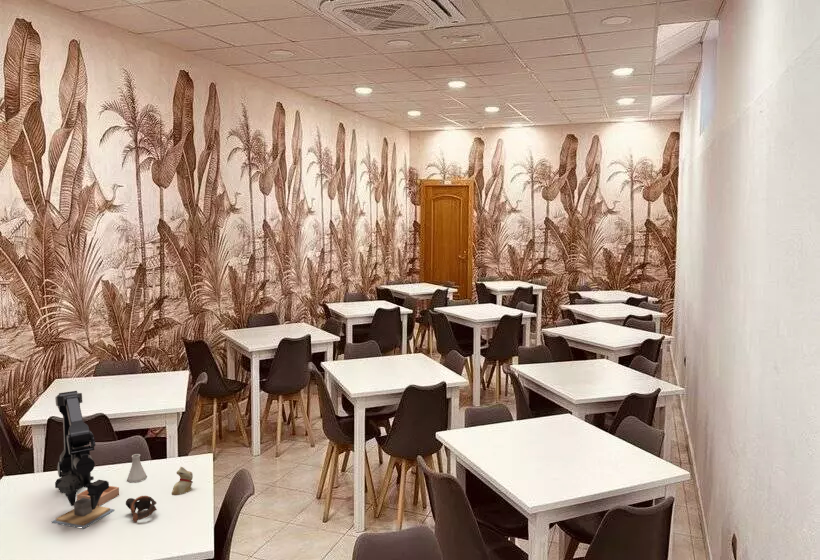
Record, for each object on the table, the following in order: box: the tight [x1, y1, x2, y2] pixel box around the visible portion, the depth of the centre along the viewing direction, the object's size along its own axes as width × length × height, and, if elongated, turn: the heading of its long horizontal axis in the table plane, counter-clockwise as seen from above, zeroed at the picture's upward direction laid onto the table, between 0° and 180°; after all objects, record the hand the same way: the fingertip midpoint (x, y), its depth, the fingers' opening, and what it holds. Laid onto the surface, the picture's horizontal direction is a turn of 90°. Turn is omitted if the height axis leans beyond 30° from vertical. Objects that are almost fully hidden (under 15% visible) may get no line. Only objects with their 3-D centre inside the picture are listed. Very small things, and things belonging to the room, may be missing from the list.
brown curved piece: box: [125, 495, 158, 523], centre depth 220 cm, size 12×10×8 cm
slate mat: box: [51, 508, 115, 529], centre depth 220 cm, size 14×14×1 cm
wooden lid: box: [55, 498, 111, 526], centre depth 220 cm, size 12×12×5 cm
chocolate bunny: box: [171, 466, 194, 496], centre depth 240 cm, size 6×8×10 cm
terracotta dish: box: [76, 485, 120, 506], centre depth 234 cm, size 10×10×3 cm
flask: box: [126, 453, 148, 483], centre depth 251 cm, size 7×7×10 cm
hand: (83, 507), depth 220 cm, fingers open, 9 cm apart
